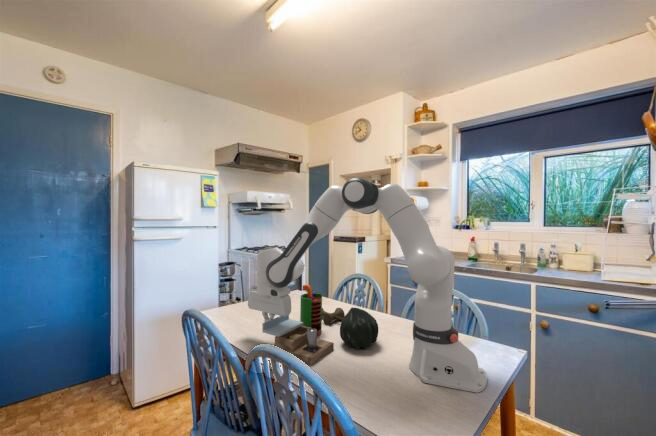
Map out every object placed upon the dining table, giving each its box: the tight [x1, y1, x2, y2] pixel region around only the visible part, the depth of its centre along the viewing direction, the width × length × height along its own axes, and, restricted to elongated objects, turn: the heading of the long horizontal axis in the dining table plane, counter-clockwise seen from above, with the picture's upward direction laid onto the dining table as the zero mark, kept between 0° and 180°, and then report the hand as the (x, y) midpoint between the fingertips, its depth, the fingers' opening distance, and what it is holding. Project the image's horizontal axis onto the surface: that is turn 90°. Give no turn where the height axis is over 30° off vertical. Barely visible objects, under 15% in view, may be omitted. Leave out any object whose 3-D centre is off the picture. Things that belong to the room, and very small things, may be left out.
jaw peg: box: [307, 328, 318, 353], centre depth 105 cm, size 3×3×9 cm
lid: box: [262, 314, 303, 337], centre depth 113 cm, size 8×14×3 cm, turn 148°
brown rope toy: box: [322, 307, 346, 326], centre depth 140 cm, size 6×10×20 cm
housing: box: [274, 326, 335, 367], centre depth 107 cm, size 16×14×6 cm
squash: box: [339, 307, 379, 350], centre depth 114 cm, size 14×15×15 cm
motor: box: [299, 284, 323, 337], centre depth 124 cm, size 10×9×20 cm
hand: (268, 323), depth 117 cm, fingers closed
